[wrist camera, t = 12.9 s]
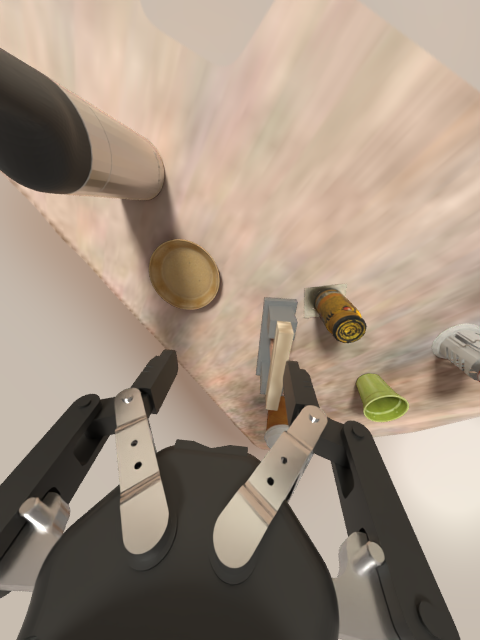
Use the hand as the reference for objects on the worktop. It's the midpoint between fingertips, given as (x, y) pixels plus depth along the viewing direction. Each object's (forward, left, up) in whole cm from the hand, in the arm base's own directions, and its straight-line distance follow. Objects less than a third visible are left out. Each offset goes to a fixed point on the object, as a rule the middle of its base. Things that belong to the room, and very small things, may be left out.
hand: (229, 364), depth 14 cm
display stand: (+8, -18, -30) cm, 36 cm away
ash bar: (+7, -18, -22) cm, 29 cm away
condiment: (+17, -7, -30) cm, 36 cm away
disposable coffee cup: (+12, -41, -30) cm, 52 cm away
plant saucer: (-13, -3, -31) cm, 33 cm away
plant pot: (+34, -29, -30) cm, 54 cm away
